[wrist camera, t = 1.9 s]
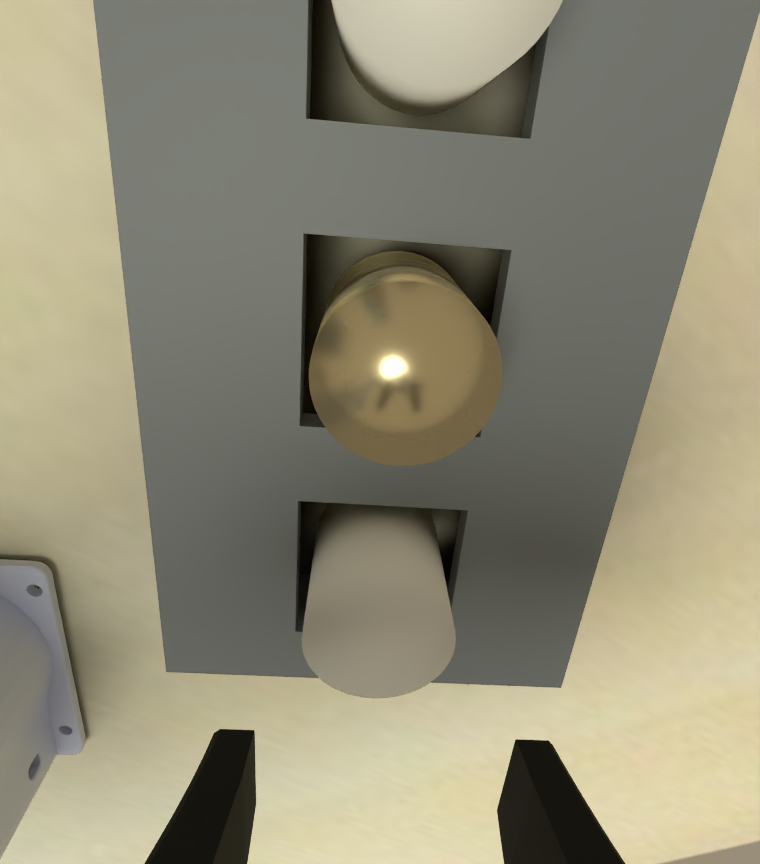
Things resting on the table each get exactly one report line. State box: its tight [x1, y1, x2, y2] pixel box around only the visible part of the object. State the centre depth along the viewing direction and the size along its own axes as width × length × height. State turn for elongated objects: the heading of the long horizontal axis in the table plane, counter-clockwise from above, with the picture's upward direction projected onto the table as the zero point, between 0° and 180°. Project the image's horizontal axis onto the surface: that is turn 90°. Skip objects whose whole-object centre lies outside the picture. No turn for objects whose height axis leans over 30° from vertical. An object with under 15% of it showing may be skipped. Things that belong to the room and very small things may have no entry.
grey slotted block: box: [93, 0, 760, 688], centre depth 14 cm, size 21×12×4 cm, turn 176°
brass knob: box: [309, 251, 503, 466], centre depth 12 cm, size 4×4×4 cm
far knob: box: [302, 503, 456, 698], centre depth 15 cm, size 4×4×4 cm
